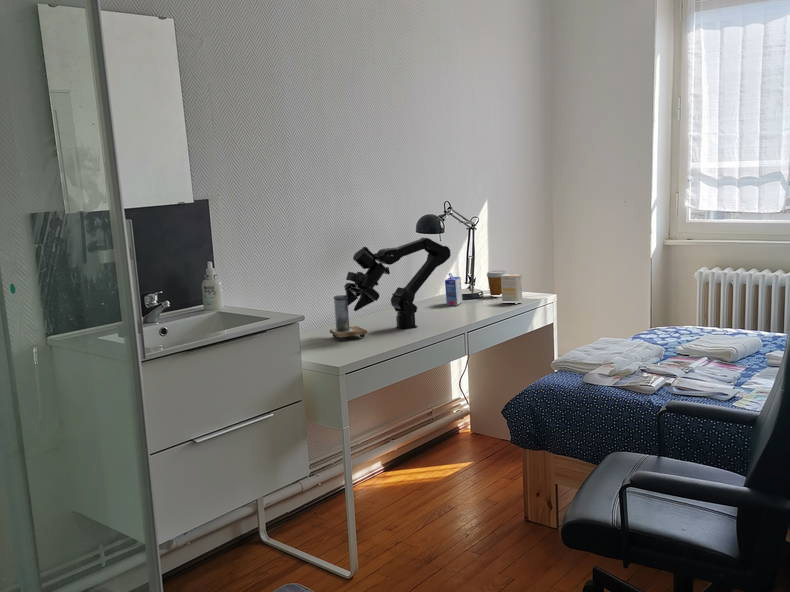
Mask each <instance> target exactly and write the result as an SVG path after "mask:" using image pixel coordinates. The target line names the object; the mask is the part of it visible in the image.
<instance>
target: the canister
mask: <svg viewBox="0 0 790 592" xmlns="http://www.w3.org/2000/svg"><path fill="white" fill-rule="evenodd" d="M333 300H334V315H335V329H336V331H338V332H344V331H349V330H350V329H349V327H350V317H349V306H348V296H347V295H346V294H343V295H342V294H340V295H335V296H333Z"/></svg>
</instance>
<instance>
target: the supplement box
mask: <svg viewBox="0 0 790 592" xmlns="http://www.w3.org/2000/svg"><path fill="white" fill-rule="evenodd" d="M522 282H523V281H522V274H515V273H513V274H511V273H506V274H504V275H501V289H502V297H501V301H519V300H521V299H522V300H523V288H522V287H523V286H522Z"/></svg>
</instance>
